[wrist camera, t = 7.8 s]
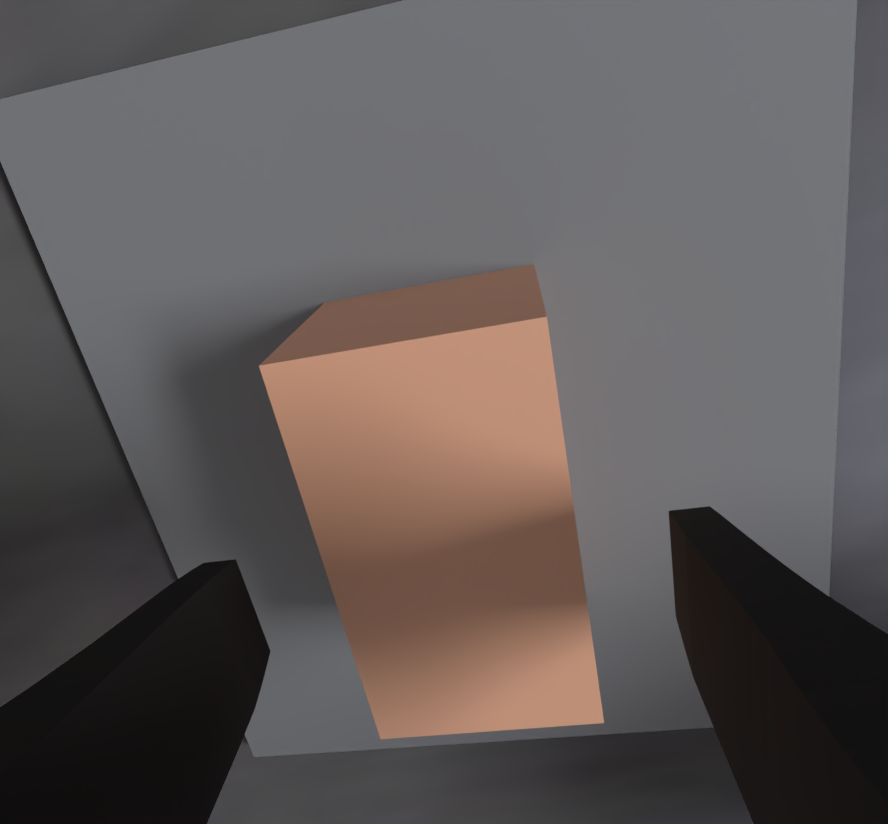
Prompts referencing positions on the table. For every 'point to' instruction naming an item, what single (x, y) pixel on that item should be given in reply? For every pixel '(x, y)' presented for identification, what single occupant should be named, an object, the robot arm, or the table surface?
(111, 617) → the table surface
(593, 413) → the mat
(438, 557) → the light orange rectangular block
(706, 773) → the table surface
